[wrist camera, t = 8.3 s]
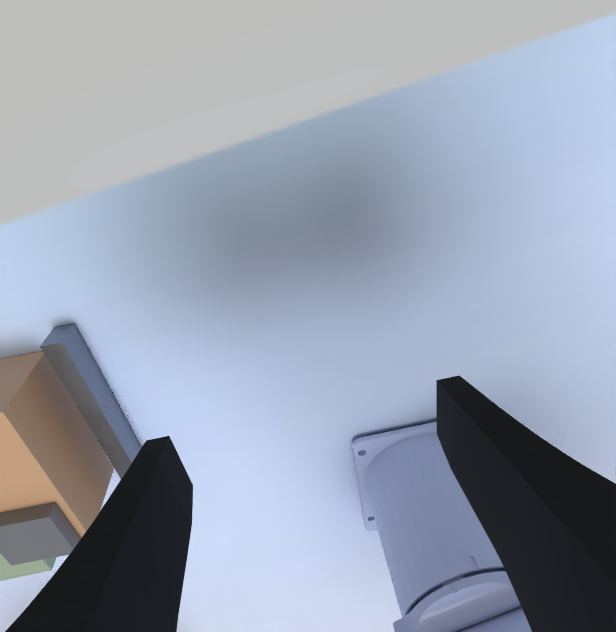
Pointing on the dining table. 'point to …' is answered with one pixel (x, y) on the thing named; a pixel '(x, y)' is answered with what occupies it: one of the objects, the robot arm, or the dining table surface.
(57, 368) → the pair of grey bars
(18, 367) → the orange wooden block
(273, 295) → the dining table surface
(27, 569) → the deck
